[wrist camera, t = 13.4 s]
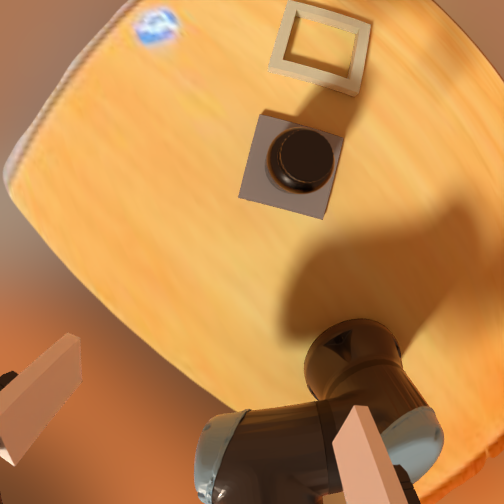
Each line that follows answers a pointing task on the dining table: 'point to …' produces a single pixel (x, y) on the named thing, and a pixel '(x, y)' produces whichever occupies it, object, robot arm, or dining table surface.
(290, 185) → the supplement bottle
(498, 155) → the dining table surface
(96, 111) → the dining table surface
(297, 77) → the frame
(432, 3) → the dining table surface
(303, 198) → the slate coaster
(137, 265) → the dining table surface
